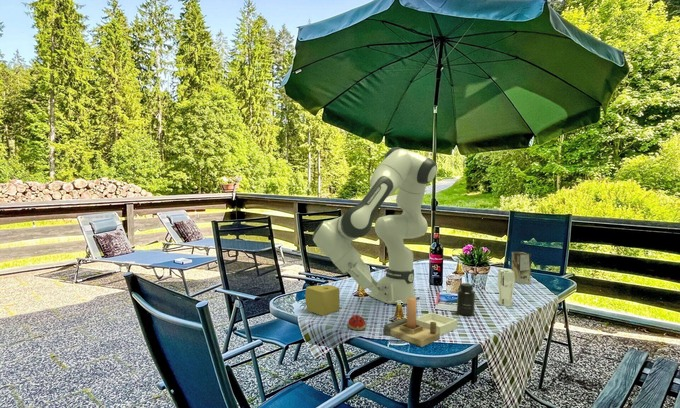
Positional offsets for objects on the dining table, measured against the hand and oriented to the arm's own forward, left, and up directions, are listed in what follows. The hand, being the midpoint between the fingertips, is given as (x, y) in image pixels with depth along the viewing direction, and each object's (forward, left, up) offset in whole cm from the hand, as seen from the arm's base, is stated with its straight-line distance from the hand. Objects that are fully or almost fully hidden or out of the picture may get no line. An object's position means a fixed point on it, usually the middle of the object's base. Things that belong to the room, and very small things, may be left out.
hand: (377, 289), depth 135 cm
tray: (+9, +22, -16) cm, 29 cm away
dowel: (+8, +9, -14) cm, 19 cm away
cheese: (-33, +3, -16) cm, 37 cm away
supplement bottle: (+8, +45, -16) cm, 48 cm away
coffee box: (0, +116, -16) cm, 117 cm away
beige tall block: (+13, +70, -16) cm, 73 cm away
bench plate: (+8, +9, -16) cm, 20 cm away
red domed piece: (-11, +1, -17) cm, 20 cm away
